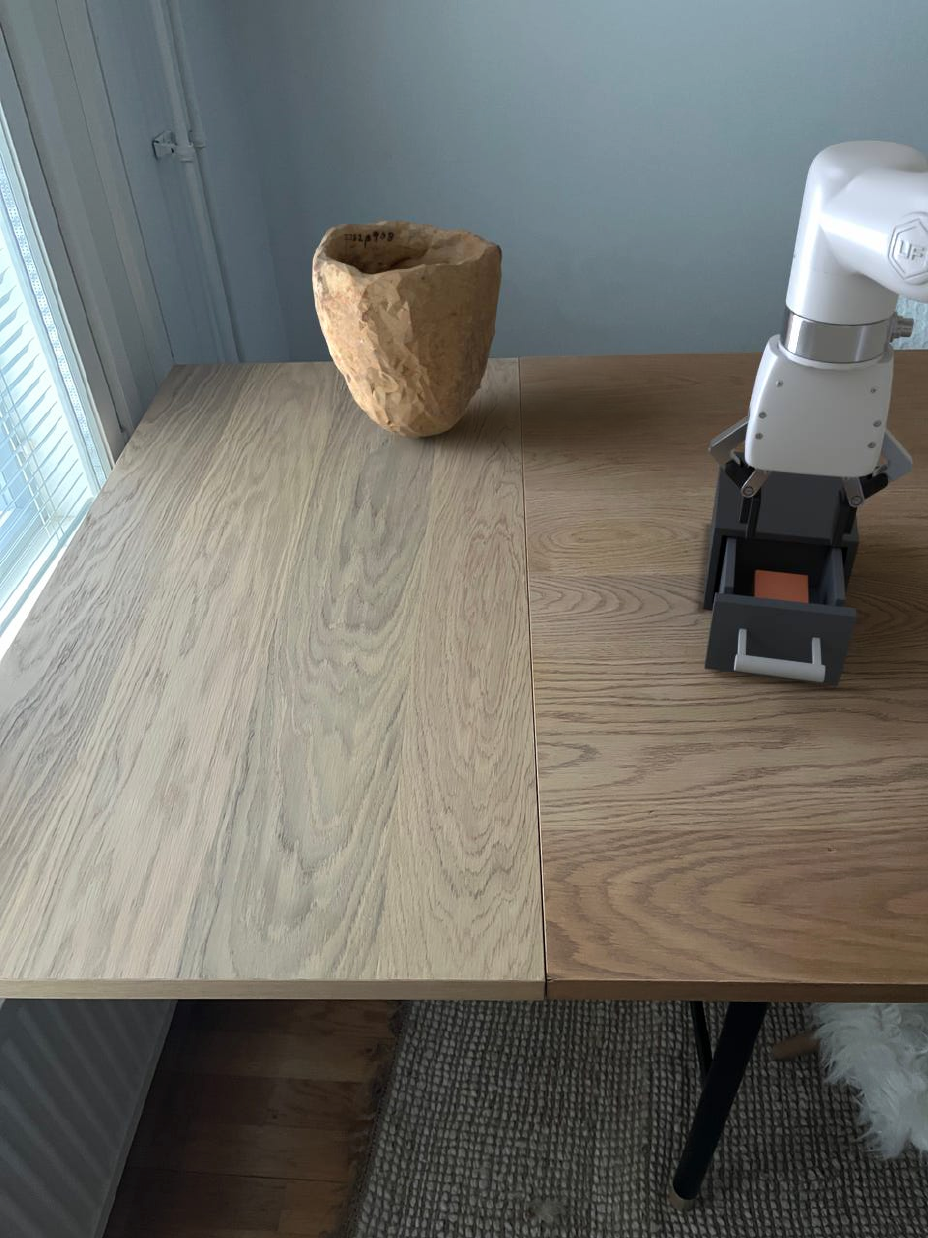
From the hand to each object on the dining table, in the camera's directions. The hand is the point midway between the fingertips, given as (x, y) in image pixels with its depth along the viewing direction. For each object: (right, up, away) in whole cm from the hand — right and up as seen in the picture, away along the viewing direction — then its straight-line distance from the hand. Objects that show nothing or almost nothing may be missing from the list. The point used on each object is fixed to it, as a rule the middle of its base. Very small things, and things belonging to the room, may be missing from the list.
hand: (792, 532), depth 81 cm
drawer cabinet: (+3, -3, +17) cm, 17 cm away
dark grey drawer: (0, -10, +6) cm, 12 cm away
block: (0, -8, +7) cm, 10 cm away
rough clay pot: (-34, +17, +43) cm, 57 cm away
